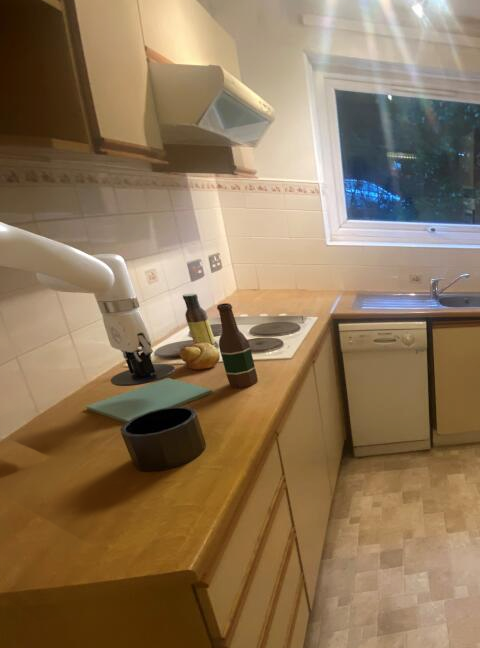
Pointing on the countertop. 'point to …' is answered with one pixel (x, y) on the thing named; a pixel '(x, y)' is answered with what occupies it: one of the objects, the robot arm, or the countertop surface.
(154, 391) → the cutting board
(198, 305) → the sauce bottle
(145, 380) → the pot lid
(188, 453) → the pot
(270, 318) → the countertop surface
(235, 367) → the beer bottle
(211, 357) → the bread roll
